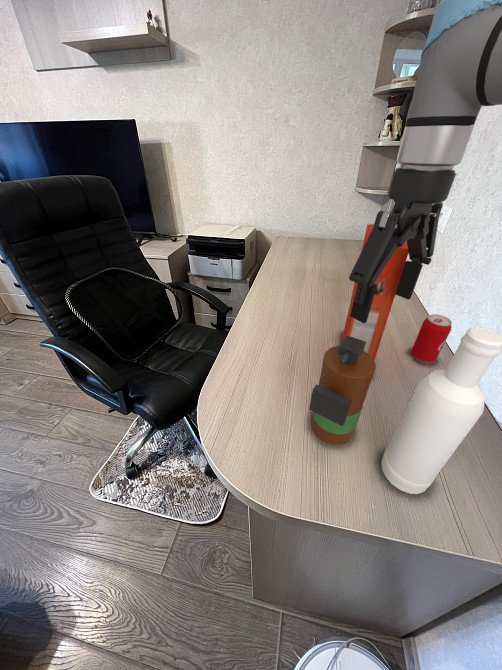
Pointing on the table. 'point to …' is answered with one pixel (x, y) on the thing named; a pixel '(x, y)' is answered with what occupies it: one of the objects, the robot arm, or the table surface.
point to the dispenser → (344, 387)
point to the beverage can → (431, 338)
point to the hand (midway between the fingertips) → (381, 307)
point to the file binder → (377, 301)
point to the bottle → (440, 414)
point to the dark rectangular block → (329, 404)
